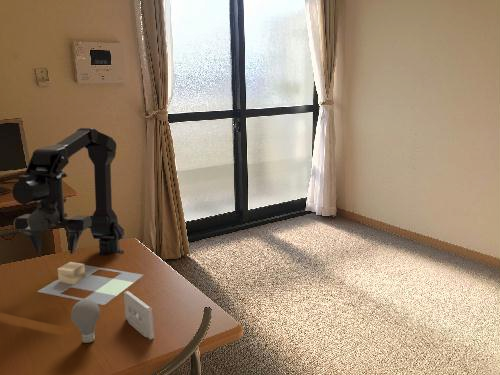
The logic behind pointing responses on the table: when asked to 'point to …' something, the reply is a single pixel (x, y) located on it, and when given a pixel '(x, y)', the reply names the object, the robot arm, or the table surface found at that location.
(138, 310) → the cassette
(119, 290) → the board
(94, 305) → the light bulb
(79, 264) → the maple block
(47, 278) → the table surface
